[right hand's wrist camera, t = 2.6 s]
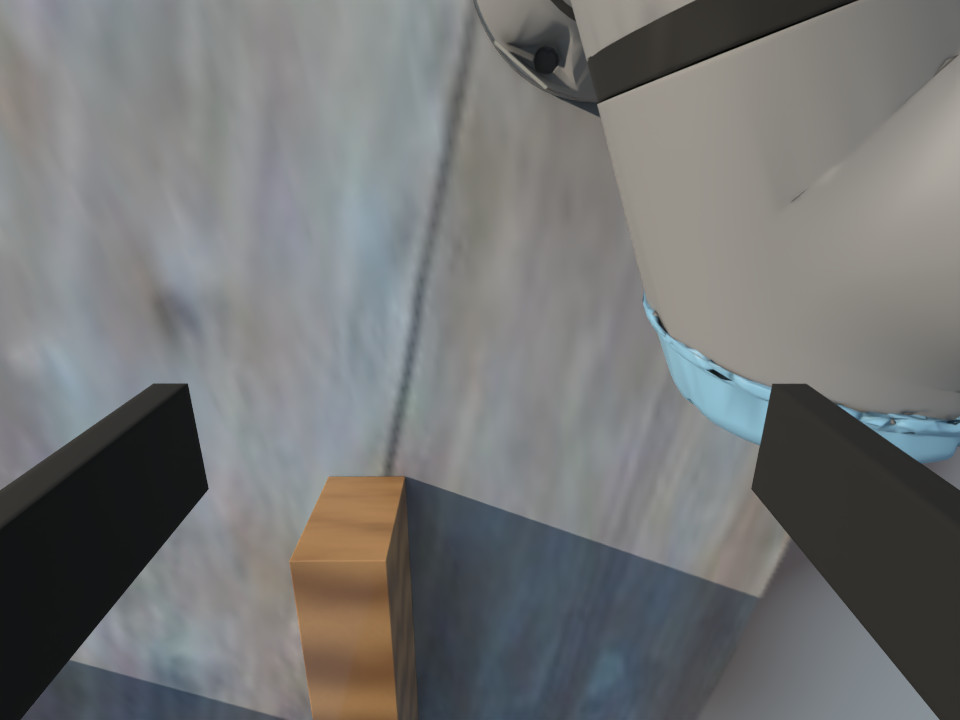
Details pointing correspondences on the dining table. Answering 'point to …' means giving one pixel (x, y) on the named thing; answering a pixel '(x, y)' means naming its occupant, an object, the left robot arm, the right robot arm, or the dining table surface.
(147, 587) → the dining table surface
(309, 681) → the bar
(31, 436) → the dining table surface
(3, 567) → the right robot arm
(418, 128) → the dining table surface
